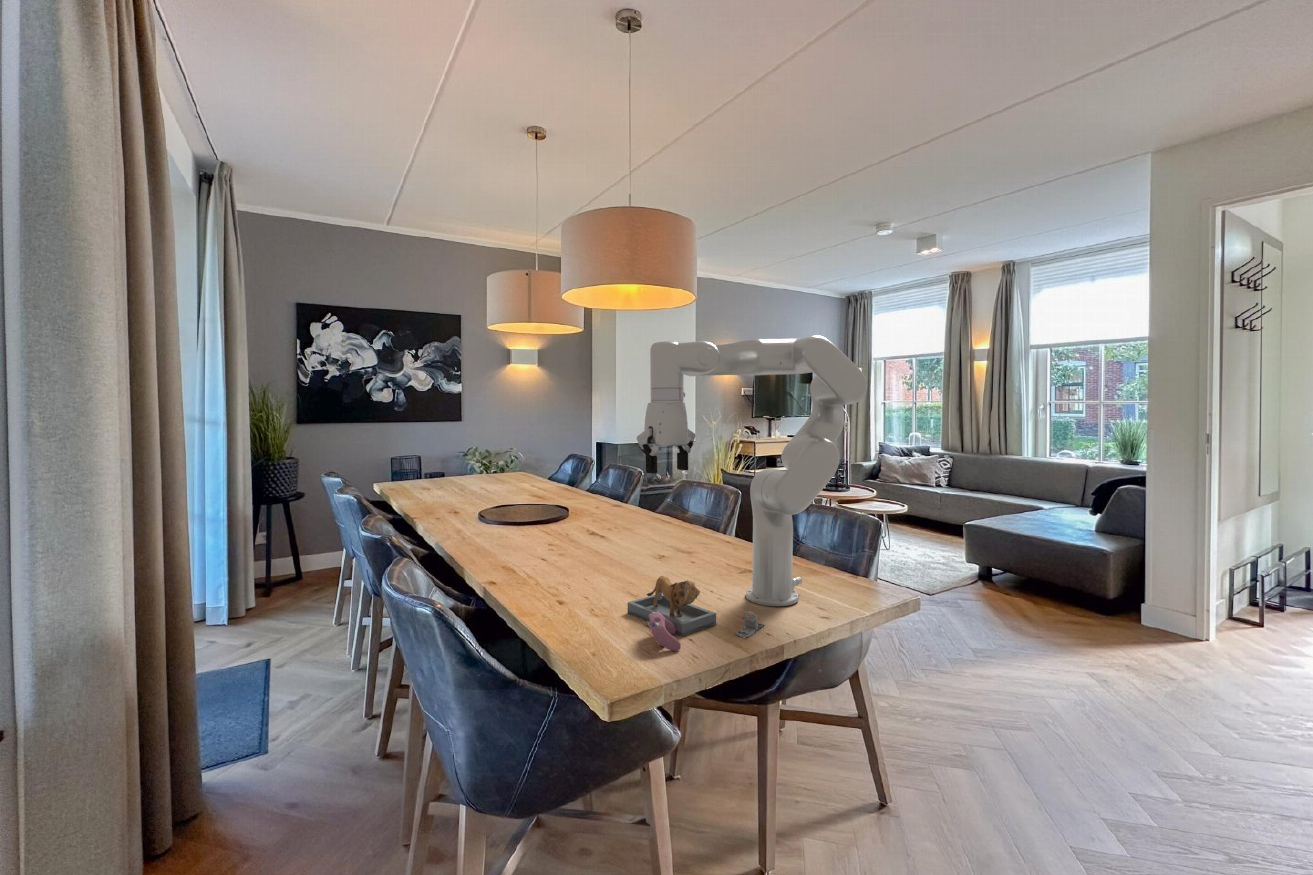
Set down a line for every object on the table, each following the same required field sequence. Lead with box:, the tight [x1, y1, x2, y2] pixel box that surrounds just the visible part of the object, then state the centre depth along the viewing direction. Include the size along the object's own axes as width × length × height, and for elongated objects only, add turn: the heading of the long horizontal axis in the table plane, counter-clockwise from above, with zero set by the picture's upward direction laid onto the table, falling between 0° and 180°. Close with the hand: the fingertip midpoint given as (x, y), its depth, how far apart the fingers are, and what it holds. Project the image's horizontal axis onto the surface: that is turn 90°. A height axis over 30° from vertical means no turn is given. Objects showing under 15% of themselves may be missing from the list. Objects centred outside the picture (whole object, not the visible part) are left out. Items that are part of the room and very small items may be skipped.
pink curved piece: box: [647, 611, 682, 652], centre depth 116 cm, size 10×5×7 cm, turn 4°
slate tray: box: [627, 593, 717, 637], centre depth 129 cm, size 10×18×2 cm, turn 41°
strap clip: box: [735, 610, 765, 639], centre depth 123 cm, size 8×3×4 cm, turn 145°
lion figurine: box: [646, 575, 701, 619], centre depth 130 cm, size 15×5×9 cm, turn 43°
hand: (667, 471), depth 135 cm, fingers open, 9 cm apart
